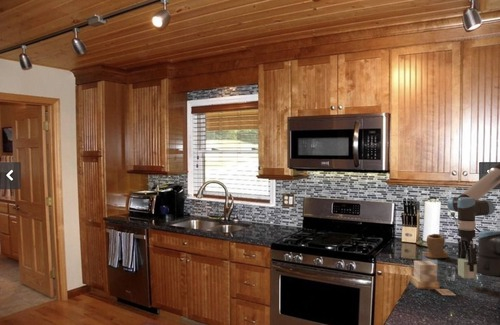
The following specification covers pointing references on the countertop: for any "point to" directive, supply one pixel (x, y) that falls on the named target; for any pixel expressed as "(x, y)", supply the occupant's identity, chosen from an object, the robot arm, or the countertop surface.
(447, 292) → the page
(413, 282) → the base
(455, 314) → the countertop surface
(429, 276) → the birch brick
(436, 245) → the brown rounded piece
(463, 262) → the sage brick
